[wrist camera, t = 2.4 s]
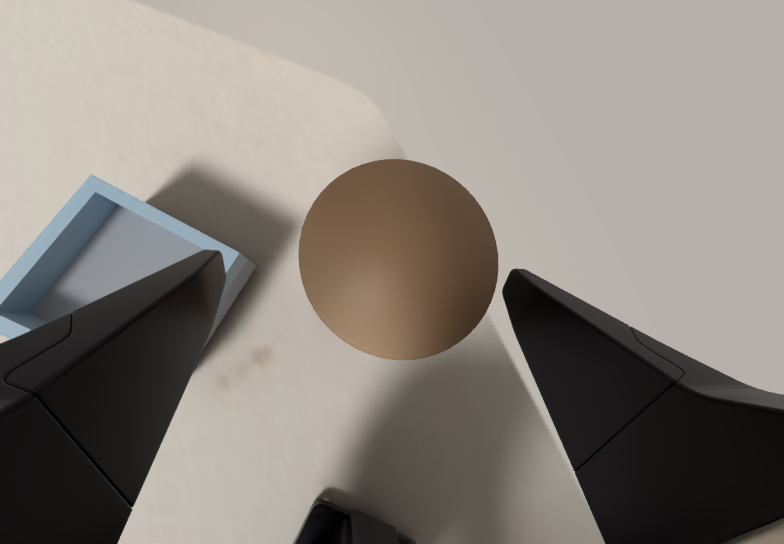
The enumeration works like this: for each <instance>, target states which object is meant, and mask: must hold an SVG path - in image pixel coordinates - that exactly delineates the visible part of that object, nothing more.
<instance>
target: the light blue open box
mask: <svg viewBox="0 0 784 544" xmlns="http://www.w3.org/2000/svg"><path fill="white" fill-rule="evenodd" d="M205 249H207V250H219V251H220V252H221V253H222V256H223V261H224V266H225V271H226V283H225V286H224V290H223V293H222V297H221V300H220V304H219V307H218V311H217V314H216V317H215V321H214V324H213V327H212V329H211V332H210V334H209V337H208V339H207V341H206V343H205V346H206V344H207V343H208V341H209V340H210V338H211V337H212V335H213V334H214V332H215V330H216V329H217V327H218V326H219V324H220V323H221V321H222V320H223V318H224V316H225V315H226V313H227V312H228V310H229V309H230V307H231V305H232V304H233V302H234V301H235V299H236V298H237V296H238V295H239V293H240V291H241V290H242V288H243V287H244V285H245V284H246V282H247V281H248V279H249V277H250V276H251V274H252V273H253V271H254V270H255V268H256V267H257V265H255V264H254V263H253V262H251V261H250V260H249V259H247V258H246V257H245V256H243V255H242V254H241V253H239V252H237V251H236V250H234V249H232V248H230V247H228V246H226V245H224V244H222V243H220V242H219V241H217V240H215V239H213V238H211V237H209V236H207V235H205V234H203V233H202V232H200V231H198V230H196V229H194V228H192V227H190V226H188V225H186V224H185V223H183V222H181V221H179V220H177V219H175V218H173V217H171V216H169V215H168V214H166V213H164V212H162V211H160V210H158V209H156V208H154V207H152V206H150V205H149V204H147V203H145V202H143V201H141V200H139V199H137V198H135V197H133V196H132V195H130V194H128V193H126V192H124V191H122V190H120V189H118V188H116V187H115V186H113V185H111V184H109V183H107V182H105V181H103V180H101V179H99V178H98V177H96V176H94V175H92V174H91V175H90V177H89V178H88V179H87V180H86V181H85V182H84V184H83V185H82V186H81V187H80V188H79V189H78V191H77V192H76V193H75V194H74V195H73V196H72V198H71V199H70V200H69V201H68V202H67V203H66V205H65V206H64V207H63V208H62V209H61V210H60V212H59V213H58V214H57V215H56V216H55V217H54V219H53V220H52V221H51V222H50V223H49V224H48V226H47V227H46V228H45V229H44V230H43V231H42V233H41V234H40V235H39V236H38V237H37V238H36V240H35V241H34V242H33V243H32V244H31V245H30V247H29V248H28V249H27V250H26V251H25V252H24V254H23V255H22V256H21V257H20V258H19V259H18V260H17V262H16V263H15V264H14V265H13V266H12V267H11V269H10V270H9V271H8V272H7V273H6V274H5V276H4V277H3V278H2V279H1V280H0V334H1V335H3V336H5V337H7V338H9V339H13V338H15V337H17V336H20V335H22V334H24V333H26V332H28V331H31V330H33V329H35V328H37V327H39V326H42V325H44V324H46V323H48V322H50V321H53V320H55V319H57V318H59V317H61V316H63V315H65V314H67V313H71V314H72V311H74V310H76V309H78V308H80V307H82V306H85V305H87V304H89V303H91V302H93V301H95V300H97V299H99V298H102V297H104V296H106V295H108V294H110V293H112V292H114V291H117V290H119V289H121V288H123V287H125V286H127V285H129V284H131V283H134V282H136V281H138V280H140V279H142V278H144V277H146V276H148V275H151V274H153V273H155V272H157V271H159V270H161V269H163V268H166V267H168V266H170V265H172V264H174V263H176V262H178V261H180V260H183V259H185V258H187V257H189V256H191V255H193V254H195V253H197V252H200V251H202V250H205ZM205 346H204V348H205ZM204 348H203V349H204ZM202 351H203V350H202Z"/></svg>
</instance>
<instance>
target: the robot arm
mask: <svg viewBox="0 0 784 544" xmlns="http://www.w3.org/2000/svg"><path fill="white" fill-rule="evenodd" d="M225 283H226V271H225V266H224V261H223V256H222V253H221V252H220V251H219V250H207V249H205V250H202V251H200V252H197V253H195V254H193V255H191V256H189V257H187V258H185V259H183V260H180V261H178V262H176V263H174V264H172V265H170V266H168V267H166V268H163V269H161V270H159V271H157V272H155V273H153V274H151V275H148V276H146V277H144V278H142V279H140V280H138V281H136V282H134V283H131V284H129V285H127V286H125V287H123V288H121V289H119V290H117V291H114V292H112V293H110V294H108V295H106V296H104V297H102V298H99V299H97V300H95V301H93V302H91V303H89V304H87V305H85V306H82V307H80V308H78V309H76V310H74V311H72V314H71V313H67V314H65V315H63V316H61V317H59V318H57V319H55V320H53V321H50V322H48V323H46V324H44V325H42V326H39V327H37V328H35V329H33V330H31V331H28V332H26V333H24V334H22V335H20V336H17V337H15V338H13V339H10V340H8V341H5V342H3V343H1V344H0V544H117V543H118V541H119V539H120V536H121V534H122V532H123V530H124V527H125V525H126V523H127V521H128V518H129V516H130V514H131V511H132V508H131V507H133V506H134V504H135V502H136V500H137V497H138V495H139V493H140V491H141V488H142V486H143V484H144V481H145V479H146V477H147V475H148V472H149V470H150V468H151V466H152V463H153V461H154V459H155V457H156V454H157V452H158V450H159V448H160V445H161V443H162V441H163V438H164V436H165V434H166V432H167V429H168V427H169V425H170V423H171V420H172V418H173V416H174V414H175V411H176V409H177V407H178V404H179V402H180V400H181V398H182V395H183V393H184V391H185V389H186V386H187V384H188V382H189V380H190V377H191V375H192V373H193V371H194V368H195V366H196V364H197V361H198V359H199V357H200V355H201V352H202V350H203V348H204V346H205V343H206V341H207V339H208V337H209V334H210V332H211V329H212V327H213V324H214V321H215V317H216V314H217V311H218V307H219V304H220V300H221V297H222V293H223V290H224V286H225ZM502 294H503V298H504V301H505V304H506V307H507V310H508V314H509V317H510V320H511V323H512V327H513V330H514V333H515V335H516V338H517V340H518V342H519V344H520V347H521V349H522V351H523V354H524V356H525V358H526V361H527V363H528V365H529V368H530V370H531V372H532V375H533V377H534V379H535V382H536V384H537V386H538V388H539V391H540V393H541V395H542V397H543V400H544V402H545V405H546V407H547V409H548V412H549V414H550V416H551V418H552V421H553V423H554V426H555V428H556V430H557V432H558V435H559V437H560V439H561V441H562V444H563V446H564V449H565V451H566V453H567V456H568V458H569V460H570V462H571V465H572V467H573V469H574V471H575V475H576V477H577V479H578V481H579V484H580V486H581V488H582V491H583V493H584V495H585V498H586V500H587V502H588V505H589V507H590V509H591V512H592V514H593V516H594V519H595V521H596V523H597V525H598V528H599V530H600V532H601V535H602V537H603V539H604V542H605V544H784V395H781V394H776V393H771V392H767V391H764V390H760V389H757V388H754V387H752V386H749V385H746V384H744V383H742V382H740V381H737V380H735V379H733V378H731V377H729V376H727V375H725V374H723V373H721V372H719V371H717V370H715V369H713V368H711V367H709V366H707V365H705V364H703V363H701V362H699V361H697V360H695V359H692V358H691V357H688V356H686V355H684V354H683V353H680V352H679V351H677V350H675V349H673V348H671V347H669V346H667V345H665V344H663V343H661V342H659V341H657V340H655V339H653V338H651V337H650V336H648V335H646V334H644V333H642V332H640V331H638V330H636V329H635V328H633V327H629V325H627V324H625V323H623V322H621V321H620V320H618V319H616V318H614V317H612V316H610V315H608V314H607V313H605V312H603V311H601V310H599V309H597V308H595V307H594V306H592V305H590V304H588V303H586V302H584V301H583V300H581V299H579V298H577V297H575V296H573V295H572V294H570V293H568V292H566V291H564V290H562V289H560V288H559V287H557V286H555V285H553V284H551V283H549V282H548V281H546V280H544V279H542V278H540V277H538V276H536V275H534V274H533V273H531V272H529V271H527V270H524V269H513V270H511V272H510V273H509V276H508V278H507V281H506V282H505V284H504V287H503V291H502ZM318 509H323V510H324V513H323V514H321V515H317V514H316V511H317V510H318ZM293 544H416V542H414V541H413V540H411V539H409V538H407V537H405V536H403V535H400V534H398V533H396V530H395V528H394V527H393V526H391V525H389V524H387V523H384V522H382V521H380V520H378V519H376V518H373V517H371V516H369V515H367V514H365V513H362V512H360V511H358V510H353V511H351V512H350V511H348V510H346V509H343V508H341V507H339V506H337V505H335V504H332V503H330V502H328V501H326V500H322V499H321V500H317V501H316V502H314V504H313V505H312V507H311V509H310V511H309V513H308V515H307V517H306V519H305V521H304V523H303V525H302V527H301V529H300V531H299V533H298V535H297V537H296V539H295V541H294V543H293Z"/></svg>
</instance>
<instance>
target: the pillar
mask: <svg viewBox="0 0 784 544" xmlns="http://www.w3.org/2000/svg"><path fill="white" fill-rule="evenodd" d="M299 268H300V273H301V278H302V283H303V286H304V289H305V291H306V294H307V297H308V299H309V301H310V303H311V304H312V306H313V308H314V310H315V311H316V313H317V314H318V316H319V317H320V318H321V320H322V321H323V322H324V323H325V324H326V326H327V327H328V328H329V329H330V330H331V331H332V332H333V333H334V334H336V335H337V336H338V337H339V338H341V339H342V340H343V341H344V342H346V343H348V344H349V345H351V346H353V347H354V348H356V349H358V350H361V351H363V352H365V353H367V354H370V355H374V356H377V357H381V358H386V359H393V360H413V359H420V358H425V357H429V356H432V355H436V354H438V353H441V352H443V351H445V350H447V349H449V348H451V347H452V346H454V345H456V344H457V343H459V342H460V341H461V340H463V339H464V338H465V337H466V336H467V335H468V334H470V333H471V331H472V330H473V329H474V328H475V327H476V326H477V325H478V323H479V322H480V321H481V319H482V318H483V316H484V315H485V313H486V311H487V309H488V307H489V304H490V303H491V300H492V297H493V294H494V292H495V287H496V283H497V277H498V252H497V246H496V241H495V237H494V234H493V230H492V228H491V226H490V223H489V221H488V218H487V217H486V215H485V213H484V211H483V210H482V208H481V206H480V205H479V204H478V202H477V201H476V200H475V198H474V197H473V196H472V195H471V194H470V193H469V192H468V191H467V190H466V188H464V187H463V186H462V185H461V184H460V183H458V182H457V181H456V180H455V179H453V178H452V177H450V176H449V175H447V174H446V173H444V172H442V171H440V170H438V169H436V168H434V167H431V166H428V165H426V164H422V163H419V162H414V161H409V160H401V159H387V160H379V161H373V162H369V163H366V164H362V165H360V166H357V167H355V168H352V169H350V170H349V171H347V172H345V173H344V174H342V175H340V176H339V177H338V178H336V179H335V180H334V181H332V182H331V183H330V184H329V185H328V186H327V187H326V188H325V189H324V190H323V191H322V192H321V193H320V195H319V196H318V197H317V199H316V200H315V202H314V203H313V205H312V207H311V208H310V210H309V212H308V214H307V216H306V219H305V222H304V225H303V227H302V232H301V237H300V242H299Z"/></svg>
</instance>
